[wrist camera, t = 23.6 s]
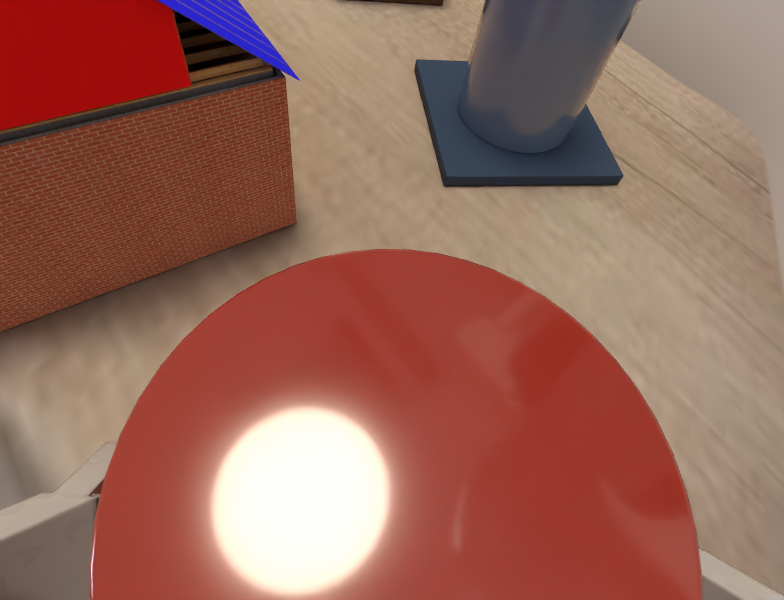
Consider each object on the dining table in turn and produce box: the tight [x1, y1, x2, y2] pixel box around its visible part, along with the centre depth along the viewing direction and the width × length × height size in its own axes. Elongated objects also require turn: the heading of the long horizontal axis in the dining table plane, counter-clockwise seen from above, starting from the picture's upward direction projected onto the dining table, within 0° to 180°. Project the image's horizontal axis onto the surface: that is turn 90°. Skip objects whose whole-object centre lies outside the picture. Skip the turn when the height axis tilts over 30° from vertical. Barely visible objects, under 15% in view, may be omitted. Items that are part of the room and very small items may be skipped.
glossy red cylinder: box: [89, 249, 702, 600], centre depth 9 cm, size 6×6×10 cm
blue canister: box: [458, 0, 641, 153], centre depth 20 cm, size 6×6×10 cm
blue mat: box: [415, 60, 623, 185], centre depth 25 cm, size 9×9×1 cm
